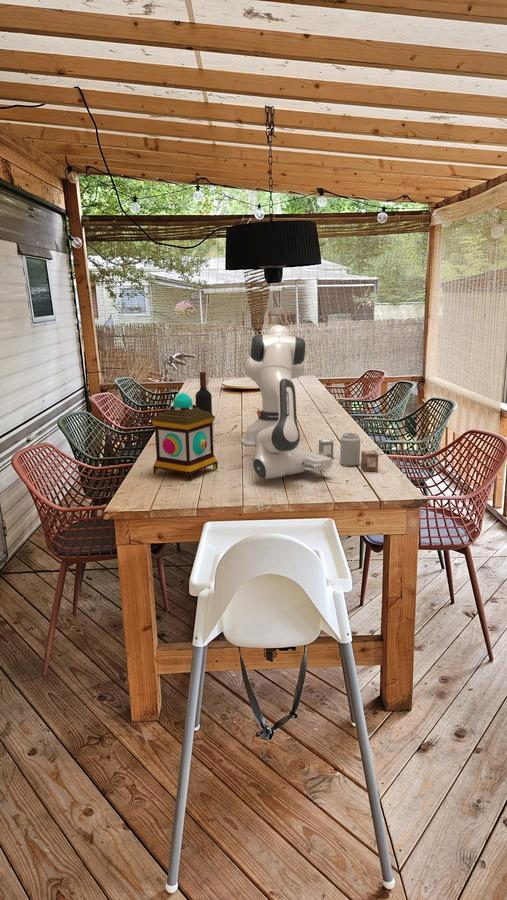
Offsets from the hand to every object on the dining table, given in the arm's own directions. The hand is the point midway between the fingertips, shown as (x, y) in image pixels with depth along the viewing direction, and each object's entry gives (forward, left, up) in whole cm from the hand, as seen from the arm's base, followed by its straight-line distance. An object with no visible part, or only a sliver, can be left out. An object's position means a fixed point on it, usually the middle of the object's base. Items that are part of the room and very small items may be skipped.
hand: (324, 455), depth 217 cm
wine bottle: (-46, +65, -6) cm, 80 cm away
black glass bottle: (-45, +95, -6) cm, 105 cm away
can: (+11, +6, -6) cm, 14 cm away
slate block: (+4, +17, -6) cm, 19 cm away
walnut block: (+16, -3, -6) cm, 18 cm away
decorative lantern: (-52, +3, -6) cm, 52 cm away
